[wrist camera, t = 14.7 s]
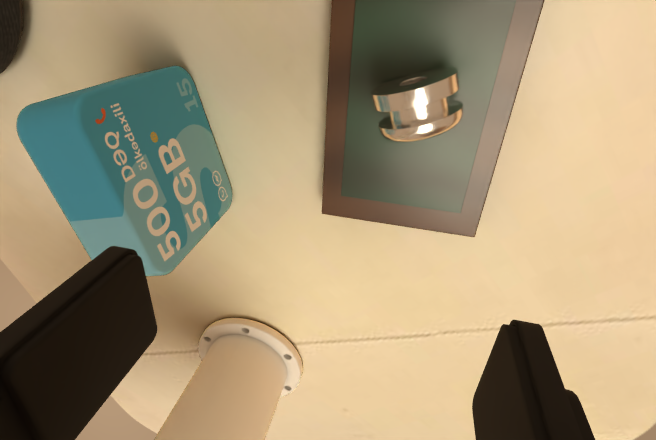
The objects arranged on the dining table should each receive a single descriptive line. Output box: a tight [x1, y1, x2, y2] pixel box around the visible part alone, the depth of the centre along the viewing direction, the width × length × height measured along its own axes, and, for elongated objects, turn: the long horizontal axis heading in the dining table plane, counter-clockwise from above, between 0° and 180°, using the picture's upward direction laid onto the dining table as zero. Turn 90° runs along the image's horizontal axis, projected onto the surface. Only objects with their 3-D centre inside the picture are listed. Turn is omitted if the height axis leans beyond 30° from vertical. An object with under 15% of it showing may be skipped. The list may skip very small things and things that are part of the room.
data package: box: [17, 66, 232, 276], centre depth 28 cm, size 12×4×12 cm, turn 12°
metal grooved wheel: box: [371, 67, 464, 142], centre depth 23 cm, size 5×3×5 cm, turn 106°
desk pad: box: [322, 0, 544, 237], centre depth 26 cm, size 20×12×2 cm, turn 177°
